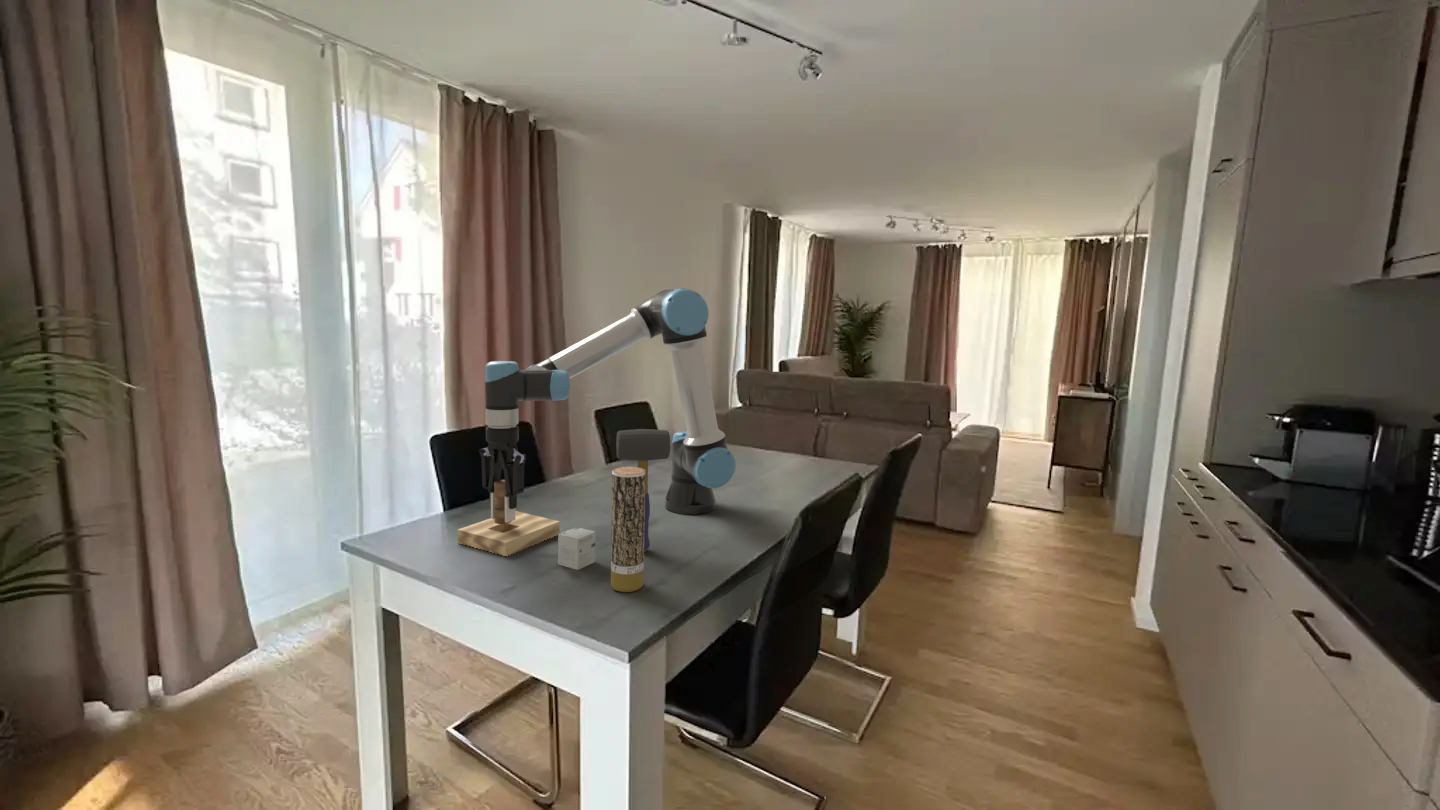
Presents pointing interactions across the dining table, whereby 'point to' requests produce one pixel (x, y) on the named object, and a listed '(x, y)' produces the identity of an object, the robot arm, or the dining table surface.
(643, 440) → the rubber mallet
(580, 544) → the skincare box
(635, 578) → the paper tube
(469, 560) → the dining table surface
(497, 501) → the peg
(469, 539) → the board
